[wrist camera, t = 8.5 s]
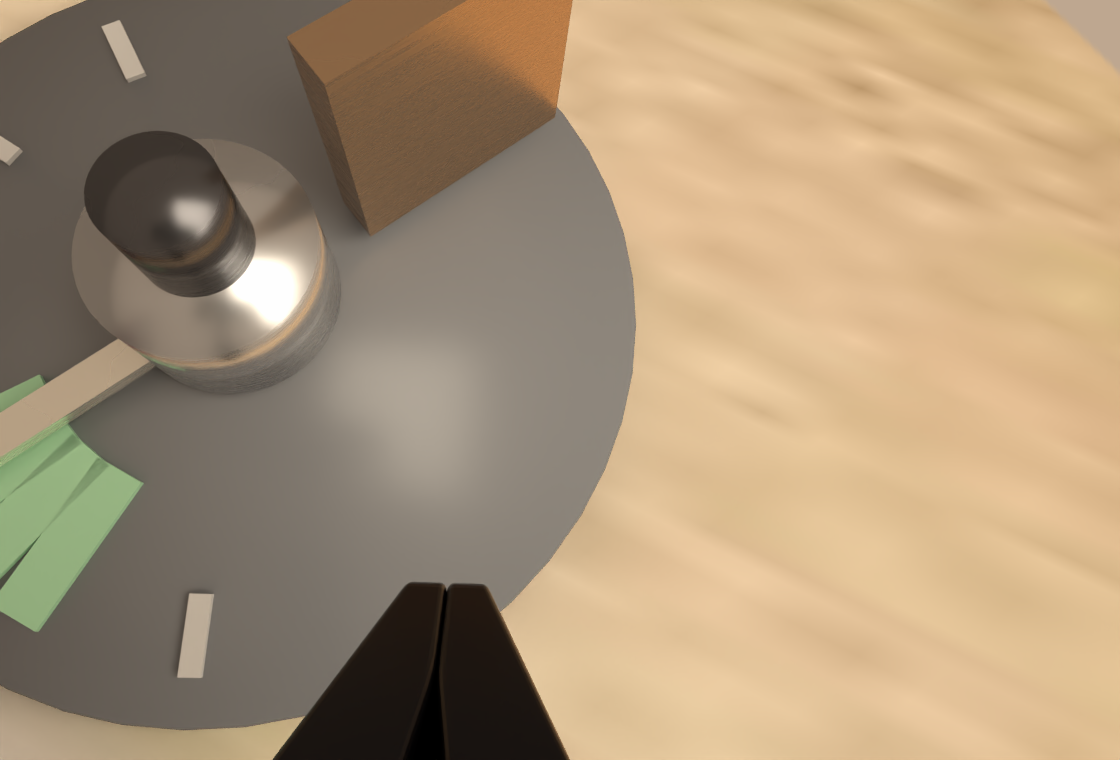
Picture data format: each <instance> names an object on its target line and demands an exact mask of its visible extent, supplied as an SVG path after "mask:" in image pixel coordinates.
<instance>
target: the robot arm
mask: <svg viewBox="0 0 1120 760" xmlns="http://www.w3.org/2000/svg"><path fill="white" fill-rule="evenodd" d="M273 760H570V759H569V757H568V755H567V752H566V750H565V748H564V746H563V744H562V742H561V740H560V738H559V736H558V733H557V731H556V729H555V727H554V725H553V723H552V721H551V719H550V717H549V714H548V712H547V710H546V708H545V706H544V704H543V702H542V700H541V698H540V695H539V693H538V691H537V689H536V687H535V685H534V683H533V681H532V679H531V676H530V674H529V672H528V670H527V668H526V666H525V664H524V662H523V660H522V657H521V655H520V653H519V651H518V649H517V647H516V645H515V643H514V641H513V638H512V636H511V634H510V632H509V630H508V628H507V626H506V624H505V622H504V619H503V617H502V615H501V613H500V611H499V609H498V607H497V605H496V603H495V600H494V598H493V596H492V594H491V592H490V590H489V589H488V587H487V586H486V585H484V584H475V583H452V584H450V585H449V586H448V588H446V586H445V585H444V584H443V583H440V582H409V583H407V584H406V585H405V586H404V587H403V588H402V590H401V591H400V592H399V594H398V595H397V596H396V597H395V599H394V600H393V601H392V603H391V604H390V605H389V607H388V608H387V609H386V611H385V612H384V613H383V615H382V616H381V617H380V619H379V620H378V621H377V623H376V624H375V625H374V626H373V628H372V629H371V630H370V632H369V633H368V634H367V636H366V637H365V638H364V640H363V641H362V642H361V644H360V645H359V646H358V648H357V649H356V650H355V652H354V653H353V654H352V655H351V657H350V658H349V659H348V661H347V662H346V663H345V665H344V666H343V667H342V669H341V670H340V671H339V673H338V674H337V675H336V677H335V678H334V679H333V681H332V682H331V683H330V684H329V686H328V687H327V688H326V690H325V691H324V692H323V694H322V695H321V696H320V698H319V699H318V700H317V702H316V703H315V704H314V706H313V707H312V708H311V710H310V711H309V712H308V713H307V715H306V716H305V717H304V719H303V720H302V721H301V723H300V724H299V725H298V727H297V728H296V729H295V731H294V732H293V733H292V735H291V736H290V737H289V739H288V740H287V741H286V742H285V744H284V745H283V746H282V748H281V749H280V750H279V752H278V753H277V754H276V756H275V757H274V758H273Z"/></svg>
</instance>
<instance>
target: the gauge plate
mask: <svg viewBox="0 0 1120 760" xmlns="http://www.w3.org/2000/svg"><path fill="white" fill-rule="evenodd" d="M349 1H351V0H86V1H84V2H81V3H79V4H77V5H74V6H72V7H69V8H67V9H64V10H62V11H59V12H57V13H54V14H52V15H50V16H48V17H46V18H44V19H43V20H41V21H39V22H37V23H35V24H33V25H31V26H30V27H28V28H26V29H24V30H22V31H20V32H18V33H17V34H15V35H13V36H11V37H9V38H7V39H6V40H4V41H3V42H1V43H0V413H1V412H2V411H4V410H5V409H7V408H8V407H10V406H12V405H13V404H15V403H16V402H18V401H20V400H21V399H23V398H24V397H26V396H28V395H29V394H31V393H32V392H34V391H36V390H37V389H39V388H40V387H42V386H44V385H45V384H47V383H48V382H50V381H51V380H53V379H55V378H56V377H58V376H59V375H61V374H63V373H64V372H66V371H67V370H69V369H71V368H72V367H74V366H75V365H77V364H79V363H80V362H82V361H83V360H85V359H87V358H88V357H90V356H91V355H93V354H94V353H96V352H98V351H99V350H101V349H102V348H104V347H106V346H107V345H109V344H110V343H112V342H114V341H115V340H117V339H118V338H116V337H115V336H114V335H112V334H111V333H110V332H108V331H107V330H106V329H105V328H104V327H103V326H102V325H101V324H100V323H99V322H98V321H97V320H96V319H95V318H94V316H93V315H92V314H91V313H90V312H89V310H88V309H87V307H86V305H85V303H84V302H83V300H82V298H81V296H80V294H79V291H78V289H77V286H76V283H75V279H74V274H73V270H72V256H71V255H72V242H73V237H74V233H75V228H76V225H77V222H78V220H79V217H80V215H81V212H82V210H83V209H84V207H85V203H84V187H85V182H86V178H87V176H88V173H89V171H90V169H91V167H92V165H93V164H94V163H95V161H96V160H97V158H98V157H99V156H100V155H101V154H102V153H103V152H104V151H105V150H106V149H108V148H109V147H110V146H111V145H113V144H115V143H116V142H118V141H120V140H122V139H124V138H126V137H128V136H131V135H134V134H137V133H142V132H148V131H168V132H173V133H178V134H181V135H184V136H187V137H189V138H191V139H216V140H225V141H230V142H235V143H239V144H242V145H245V146H248V147H251V148H254V149H256V150H258V151H260V152H262V153H264V154H266V155H268V156H269V157H271V158H272V159H274V160H275V161H277V162H279V163H280V164H281V165H282V166H283V167H284V168H286V169H287V170H288V171H289V172H290V173H291V174H292V175H293V176H294V178H295V179H296V180H297V181H298V182H299V184H300V185H301V187H302V188H303V190H304V191H305V193H306V194H307V196H308V198H309V201H310V203H311V205H312V207H313V209H314V212H315V214H316V216H317V219H318V221H319V223H320V226H321V228H322V230H323V233H324V235H325V237H326V240H327V242H328V244H329V247H330V249H331V251H332V254H333V256H334V258H335V261H336V264H337V267H338V270H339V274H340V280H341V305H340V311H339V315H338V318H337V322H336V324H335V327H334V329H333V331H332V334H331V335H330V337H329V339H328V340H327V342H326V344H325V345H324V347H323V348H322V349H321V350H320V352H319V353H318V354H317V355H316V357H314V358H313V359H312V360H311V361H310V362H309V363H308V364H307V365H306V366H305V367H304V368H302V369H301V370H300V371H299V372H297V373H296V374H294V375H293V376H291V377H289V378H288V379H286V380H284V381H282V382H280V383H278V384H275V385H273V386H271V387H267V388H264V389H261V390H258V391H252V392H247V393H237V394H222V393H212V392H207V391H202V390H199V389H196V388H193V387H190V386H187V385H185V384H183V383H181V382H179V381H177V380H175V379H174V378H172V377H171V376H169V375H168V374H166V373H165V372H163V371H162V370H161V369H159V368H158V367H154V368H153V369H151V370H150V371H148V372H147V373H145V374H143V375H142V376H140V377H139V378H137V379H136V380H134V381H133V382H131V383H129V384H128V385H126V386H125V387H123V388H122V389H120V390H119V391H117V392H116V393H114V394H112V395H111V396H109V397H108V398H106V399H105V400H103V401H102V402H100V403H98V404H97V405H95V406H94V407H92V408H91V409H89V410H88V411H86V412H84V413H83V414H81V415H80V416H78V417H77V418H75V419H74V420H72V421H70V422H69V423H67V424H66V425H64V426H63V427H61V428H60V429H58V430H57V431H55V432H53V433H52V434H50V435H49V436H47V437H46V438H44V439H43V440H41V441H39V442H38V443H36V444H35V445H33V446H32V447H30V448H29V449H27V450H25V451H24V452H22V453H21V454H19V455H18V456H16V457H15V458H13V459H12V460H10V461H8V462H7V463H5V464H4V465H2V466H1V467H0V685H1V686H3V687H5V688H6V689H8V690H11V691H13V692H16V693H18V694H21V695H23V696H26V697H29V698H31V699H34V700H36V701H39V702H41V703H44V704H46V705H49V706H52V707H54V708H57V709H59V710H62V711H65V712H69V713H74V714H78V715H82V716H86V717H91V718H95V719H99V720H104V721H108V722H112V723H117V724H121V725H130V726H141V727H153V728H164V729H176V730H197V729H217V728H237V727H248V726H254V725H259V724H264V723H270V722H275V721H281V720H286V719H291V718H297V717H302V716H306V715H307V713H308V712H309V711H310V710H311V708H312V707H313V706H314V704H315V703H316V702H317V700H318V699H319V698H320V696H321V695H322V694H323V692H324V691H325V690H326V688H327V687H328V686H329V684H330V683H331V682H332V681H333V679H334V678H335V677H336V675H337V674H338V673H339V671H340V670H341V669H342V667H343V666H344V665H345V663H346V662H347V661H348V659H349V658H350V657H351V655H352V654H353V653H354V652H355V650H356V649H357V648H358V646H359V645H360V644H361V642H362V641H363V640H364V638H365V637H366V636H367V634H368V633H369V632H370V630H371V629H372V628H373V626H374V625H375V624H376V623H377V621H378V620H379V619H380V617H381V616H382V615H383V613H384V612H385V611H386V609H387V608H388V607H389V605H390V604H391V603H392V601H393V600H394V599H395V597H396V596H397V595H398V594H399V592H400V591H401V590H402V588H403V587H404V586H405V585H406V584H407V583H409V582H440V583H443V584H444V585H445V586H446V588H448V586H449V585H450V584H452V583H475V584H484V585H486V586H487V587H488V589H489V590H490V592H491V594H492V596H493V598H494V600H495V603H496V605H497V607H498V609H499V611H502V610H503V609H504V608H505V607H506V606H507V605H509V604H510V603H511V602H512V601H513V600H514V599H515V598H516V597H517V596H518V595H519V593H520V592H521V591H522V590H523V589H524V588H525V587H526V586H527V585H528V584H529V582H530V581H531V580H532V579H533V578H534V577H535V576H536V575H537V574H538V573H539V572H540V570H541V569H542V568H543V567H544V566H545V565H546V564H547V563H548V562H549V561H550V559H551V558H552V556H553V555H554V553H555V552H556V551H557V549H558V548H559V546H560V545H561V543H562V542H563V541H564V539H565V538H566V536H567V535H568V533H569V532H570V531H571V529H572V528H573V526H574V525H575V523H576V522H577V521H578V519H579V518H580V516H581V514H582V513H583V511H584V509H585V507H586V505H587V503H588V501H589V499H590V497H591V495H592V493H593V491H594V489H595V487H596V486H597V484H598V482H599V480H600V478H601V476H602V474H603V472H604V470H605V468H606V465H607V462H608V459H609V456H610V454H611V451H612V448H613V445H614V443H615V440H616V437H617V434H618V431H619V429H620V426H621V423H622V419H623V415H624V410H625V405H626V401H627V396H628V391H629V387H630V382H631V377H632V371H633V358H634V344H635V331H636V319H635V303H634V288H633V277H632V272H631V267H630V262H629V257H628V252H627V247H626V242H625V237H624V233H623V230H622V227H621V224H620V221H619V218H618V216H617V213H616V210H615V207H614V204H613V201H612V198H611V195H610V193H609V190H608V188H607V186H606V184H605V182H604V180H603V178H602V176H601V174H600V172H599V170H598V168H597V166H596V164H595V162H594V161H593V159H592V157H591V155H590V153H589V151H588V149H587V148H586V146H585V145H584V144H583V142H582V141H581V139H580V138H579V136H578V135H577V133H576V132H575V130H574V129H573V127H572V126H571V125H570V123H569V122H568V120H567V119H566V117H565V116H564V114H563V113H562V112H561V111H560V110H559V109H558V108H556V114H555V118H553V119H552V120H550V121H549V122H547V123H546V124H544V125H543V126H541V127H540V128H538V129H536V130H535V131H533V132H532V133H530V134H529V135H527V136H526V137H524V138H523V139H521V140H519V141H518V142H516V143H515V144H513V145H512V146H510V147H509V148H507V149H506V150H504V151H502V152H501V153H499V154H498V155H496V156H495V157H493V158H492V159H490V160H489V161H487V162H485V163H484V164H482V165H481V166H479V167H478V168H476V169H475V170H473V171H472V172H470V173H468V174H467V175H465V176H464V177H462V178H461V179H459V180H458V181H456V182H455V183H453V184H451V185H450V186H448V187H447V188H445V189H444V190H442V191H441V192H439V193H438V194H436V195H434V196H433V197H431V198H430V199H428V200H427V201H425V202H424V203H422V204H421V205H419V206H417V207H416V208H414V209H413V210H411V211H410V212H408V213H407V214H405V215H404V216H402V217H400V218H399V219H397V220H396V221H394V222H393V223H391V224H390V225H388V226H387V227H385V228H383V229H382V230H380V231H379V232H377V233H376V234H374V235H373V236H370V235H369V234H368V233H367V231H366V230H365V229H364V227H363V226H362V225H361V224H360V222H359V221H358V220H357V219H356V217H355V216H354V215H353V213H352V212H351V211H350V210H349V208H348V207H347V206H346V205H345V203H344V202H343V199H342V196H341V193H340V190H339V188H338V185H337V182H336V179H335V176H334V173H333V170H332V167H331V164H330V161H329V159H328V156H327V153H326V150H325V147H324V144H323V141H322V138H321V135H320V133H319V130H318V127H317V124H316V121H315V118H314V115H313V112H312V109H311V107H310V104H309V101H308V98H307V95H306V92H305V89H304V86H303V83H302V81H301V78H300V75H299V72H298V69H297V66H296V63H295V60H294V57H293V55H292V52H291V49H290V46H289V43H288V40H287V36H289V35H291V34H292V33H294V32H296V31H298V30H300V29H301V28H303V27H305V26H307V25H308V24H310V23H312V22H314V21H316V20H317V19H319V18H321V17H323V16H324V15H326V14H328V13H330V12H332V11H333V10H335V9H337V8H339V7H340V6H342V5H344V4H346V3H347V2H349Z"/></svg>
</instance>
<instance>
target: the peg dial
mask: <svg viewBox="0 0 1120 760" xmlns="http://www.w3.org/2000/svg"><path fill="white" fill-rule="evenodd" d="M572 1H573V0H351V1H349V2H347V3H346V4H344V5H342V6H340V7H339V8H337V9H335V10H333V11H332V12H330V13H328V14H326V15H324V16H323V17H321V18H319V19H317V20H316V21H314V22H312V23H310V24H308V25H307V26H305V27H303V28H301V29H300V30H298V31H296V32H294V33H292V34H291V35H289V36H287V40H288V43H289V46H290V49H291V52H292V55H293V57H294V60H295V63H296V66H297V69H298V72H299V75H300V78H301V81H302V83H303V86H304V89H305V92H306V95H307V98H308V101H309V104H310V107H311V109H312V112H313V115H314V118H315V121H316V124H317V127H318V130H319V133H320V135H321V138H322V141H323V144H324V147H325V150H326V153H327V156H328V159H329V161H330V164H331V167H332V170H333V173H334V176H335V179H336V182H337V185H338V188H339V190H340V193H341V196H342V199H343V202H344V203H345V205H346V206H347V207H348V208H349V210H350V211H351V212H352V213H353V215H354V216H355V217H356V219H357V220H358V221H359V222H360V224H361V225H362V226H363V227H364V229H365V230H366V231H367V233H368V234H369V235H370V236H373V235H374V234H376V233H377V232H379V231H380V230H382V229H383V228H385V227H387V226H388V225H390V224H391V223H393V222H394V221H396V220H397V219H399V218H400V217H402V216H404V215H405V214H407V213H408V212H410V211H411V210H413V209H414V208H416V207H417V206H419V205H421V204H422V203H424V202H425V201H427V200H428V199H430V198H431V197H433V196H434V195H436V194H438V193H439V192H441V191H442V190H444V189H445V188H447V187H448V186H450V185H451V184H453V183H455V182H456V181H458V180H459V179H461V178H462V177H464V176H465V175H467V174H468V173H470V172H472V171H473V170H475V169H476V168H478V167H479V166H481V165H482V164H484V163H485V162H487V161H489V160H490V159H492V158H493V157H495V156H496V155H498V154H499V153H501V152H502V151H504V150H506V149H507V148H509V147H510V146H512V145H513V144H515V143H516V142H518V141H519V140H521V139H523V138H524V137H526V136H527V135H529V134H530V133H532V132H533V131H535V130H536V129H538V128H540V127H541V126H543V125H544V124H546V123H547V122H549V121H550V120H552V119H553V118H555V114H556V108H557V101H558V94H559V88H560V81H561V74H562V67H563V61H564V54H565V47H566V41H567V34H568V27H569V21H570V14H571V7H572ZM84 203H85V207H84V209H83V210H82V212H81V215H80V217H79V220H78V222H77V225H76V228H75V233H74V237H73V242H72V255H71V256H72V270H73V274H74V279H75V283H76V286H77V289H78V291H79V294H80V296H81V298H82V300H83V302H84V303H85V305H86V307H87V309H88V310H89V312H90V313H91V314H92V315H93V316H94V318H95V319H96V320H97V321H98V322H99V323H100V324H101V325H102V326H103V327H104V328H105V329H106V330H107V331H108V332H110V333H111V334H112V335H114V336H115V337H116V338H118V339H117V340H115V341H114V342H112V343H110V344H109V345H107V346H106V347H104V348H102V349H101V350H99V351H98V352H96V353H94V354H93V355H91V356H90V357H88V358H87V359H85V360H83V361H82V362H80V363H79V364H77V365H75V366H74V367H72V368H71V369H69V370H67V371H66V372H64V373H63V374H61V375H59V376H58V377H56V378H55V379H53V380H51V381H50V382H48V383H47V384H45V385H44V386H42V387H40V388H39V389H37V390H36V391H34V392H32V393H31V394H29V395H28V396H26V397H24V398H23V399H21V400H20V401H18V402H16V403H15V404H13V405H12V406H10V407H8V408H7V409H5V410H4V411H2V412H1V413H0V467H1V466H2V465H4V464H5V463H7V462H8V461H10V460H12V459H13V458H15V457H16V456H18V455H19V454H21V453H22V452H24V451H25V450H27V449H29V448H30V447H32V446H33V445H35V444H36V443H38V442H39V441H41V440H43V439H44V438H46V437H47V436H49V435H50V434H52V433H53V432H55V431H57V430H58V429H60V428H61V427H63V426H64V425H66V424H67V423H69V422H70V421H72V420H74V419H75V418H77V417H78V416H80V415H81V414H83V413H84V412H86V411H88V410H89V409H91V408H92V407H94V406H95V405H97V404H98V403H100V402H102V401H103V400H105V399H106V398H108V397H109V396H111V395H112V394H114V393H116V392H117V391H119V390H120V389H122V388H123V387H125V386H126V385H128V384H129V383H131V382H133V381H134V380H136V379H137V378H139V377H140V376H142V375H143V374H145V373H147V372H148V371H150V370H151V369H153V368H154V367H158V368H159V369H161V370H162V371H163V372H165V373H166V374H168V375H169V376H171V377H172V378H174V379H175V380H177V381H179V382H181V383H183V384H185V385H187V386H190V387H193V388H196V389H199V390H202V391H207V392H212V393H222V394H237V393H247V392H252V391H258V390H261V389H264V388H267V387H271V386H273V385H275V384H278V383H280V382H282V381H284V380H286V379H288V378H289V377H291V376H293V375H294V374H296V373H297V372H299V371H300V370H301V369H302V368H304V367H305V366H306V365H307V364H308V363H309V362H310V361H311V360H312V359H313V358H314V357H316V355H317V354H318V353H319V352H320V350H321V349H322V348H323V347H324V345H325V344H326V342H327V340H328V339H329V337H330V335H331V334H332V331H333V329H334V327H335V324H336V322H337V318H338V315H339V311H340V305H341V280H340V274H339V270H338V267H337V264H336V261H335V258H334V256H333V254H332V251H331V249H330V247H329V244H328V242H327V240H326V237H325V235H324V233H323V230H322V228H321V226H320V223H319V221H318V219H317V216H316V214H315V212H314V209H313V207H312V205H311V203H310V201H309V198H308V196H307V194H306V193H305V191H304V190H303V188H302V187H301V185H300V184H299V182H298V181H297V180H296V179H295V178H294V176H293V175H292V174H291V173H290V172H289V171H288V170H287V169H286V168H284V167H283V166H282V165H281V164H280V163H279V162H277V161H275V160H274V159H272V158H271V157H269V156H268V155H266V154H264V153H262V152H260V151H258V150H256V149H254V148H251V147H248V146H245V145H242V144H239V143H235V142H230V141H225V140H216V139H191V138H189V137H187V136H184V135H181V134H178V133H173V132H168V131H148V132H142V133H137V134H134V135H131V136H128V137H126V138H124V139H122V140H120V141H118V142H116V143H115V144H113V145H111V146H110V147H109V148H108V149H106V150H105V151H104V152H103V153H102V154H101V155H100V156H99V157H98V158H97V160H96V161H95V163H94V164H93V165H92V167H91V169H90V171H89V173H88V176H87V178H86V182H85V187H84Z"/></svg>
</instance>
